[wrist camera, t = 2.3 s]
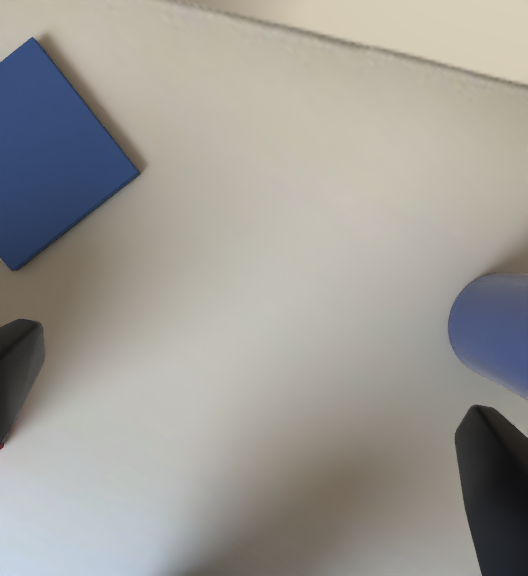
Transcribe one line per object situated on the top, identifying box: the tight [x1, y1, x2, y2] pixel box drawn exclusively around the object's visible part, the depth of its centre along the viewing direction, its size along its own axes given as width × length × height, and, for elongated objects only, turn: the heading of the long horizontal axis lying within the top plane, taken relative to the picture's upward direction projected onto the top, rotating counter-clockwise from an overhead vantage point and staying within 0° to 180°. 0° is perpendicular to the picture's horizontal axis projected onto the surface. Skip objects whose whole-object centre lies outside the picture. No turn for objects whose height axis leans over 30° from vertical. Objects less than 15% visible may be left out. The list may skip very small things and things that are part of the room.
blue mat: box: [0, 37, 140, 271], centre depth 24 cm, size 8×8×1 cm
